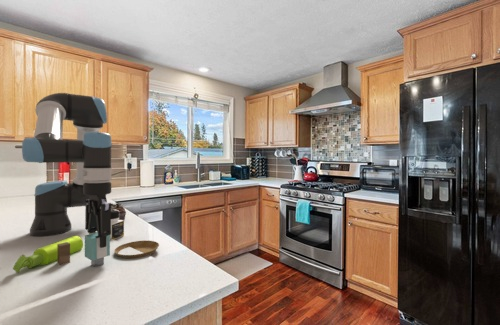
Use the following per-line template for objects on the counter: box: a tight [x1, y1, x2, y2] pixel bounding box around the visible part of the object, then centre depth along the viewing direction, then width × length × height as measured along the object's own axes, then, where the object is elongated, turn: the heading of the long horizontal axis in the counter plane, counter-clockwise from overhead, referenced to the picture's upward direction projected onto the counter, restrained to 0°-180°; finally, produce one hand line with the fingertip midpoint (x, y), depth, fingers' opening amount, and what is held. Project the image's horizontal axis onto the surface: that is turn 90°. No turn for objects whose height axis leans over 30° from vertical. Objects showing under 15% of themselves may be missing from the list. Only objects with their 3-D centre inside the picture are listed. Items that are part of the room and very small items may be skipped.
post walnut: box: [56, 242, 71, 266], centre depth 78 cm, size 3×3×7 cm
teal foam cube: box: [84, 233, 111, 261], centre depth 77 cm, size 5×5×7 cm
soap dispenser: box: [12, 235, 84, 273], centre depth 80 cm, size 6×7×20 cm
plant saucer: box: [114, 240, 160, 259], centre depth 89 cm, size 15×15×3 cm
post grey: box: [90, 257, 105, 268], centre depth 77 cm, size 3×3×7 cm
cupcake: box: [111, 202, 127, 221], centre depth 133 cm, size 10×10×10 cm
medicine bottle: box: [110, 210, 125, 241], centre depth 106 cm, size 7×7×12 cm
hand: (97, 254), depth 77 cm, fingers closed on teal foam cube, 5 cm apart
